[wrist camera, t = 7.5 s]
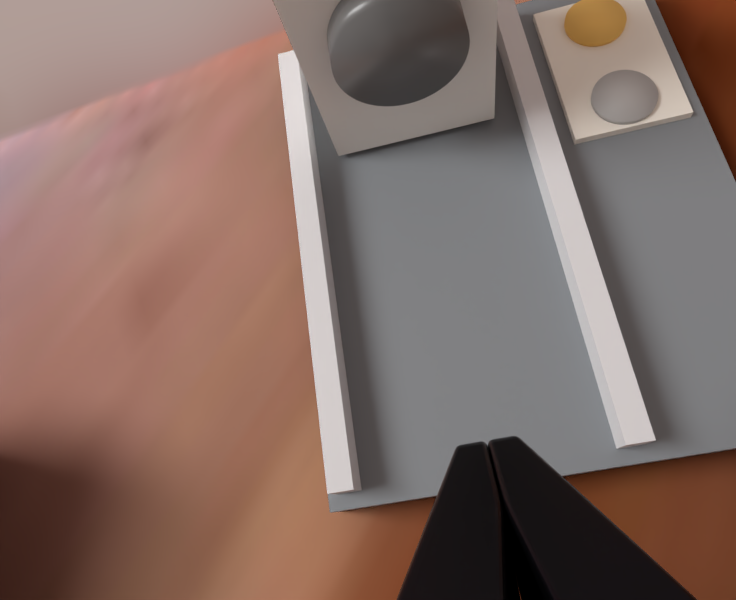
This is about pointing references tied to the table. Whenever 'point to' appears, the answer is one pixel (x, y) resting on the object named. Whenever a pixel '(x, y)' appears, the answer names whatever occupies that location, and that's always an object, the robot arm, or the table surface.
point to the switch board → (523, 264)
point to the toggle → (394, 65)
